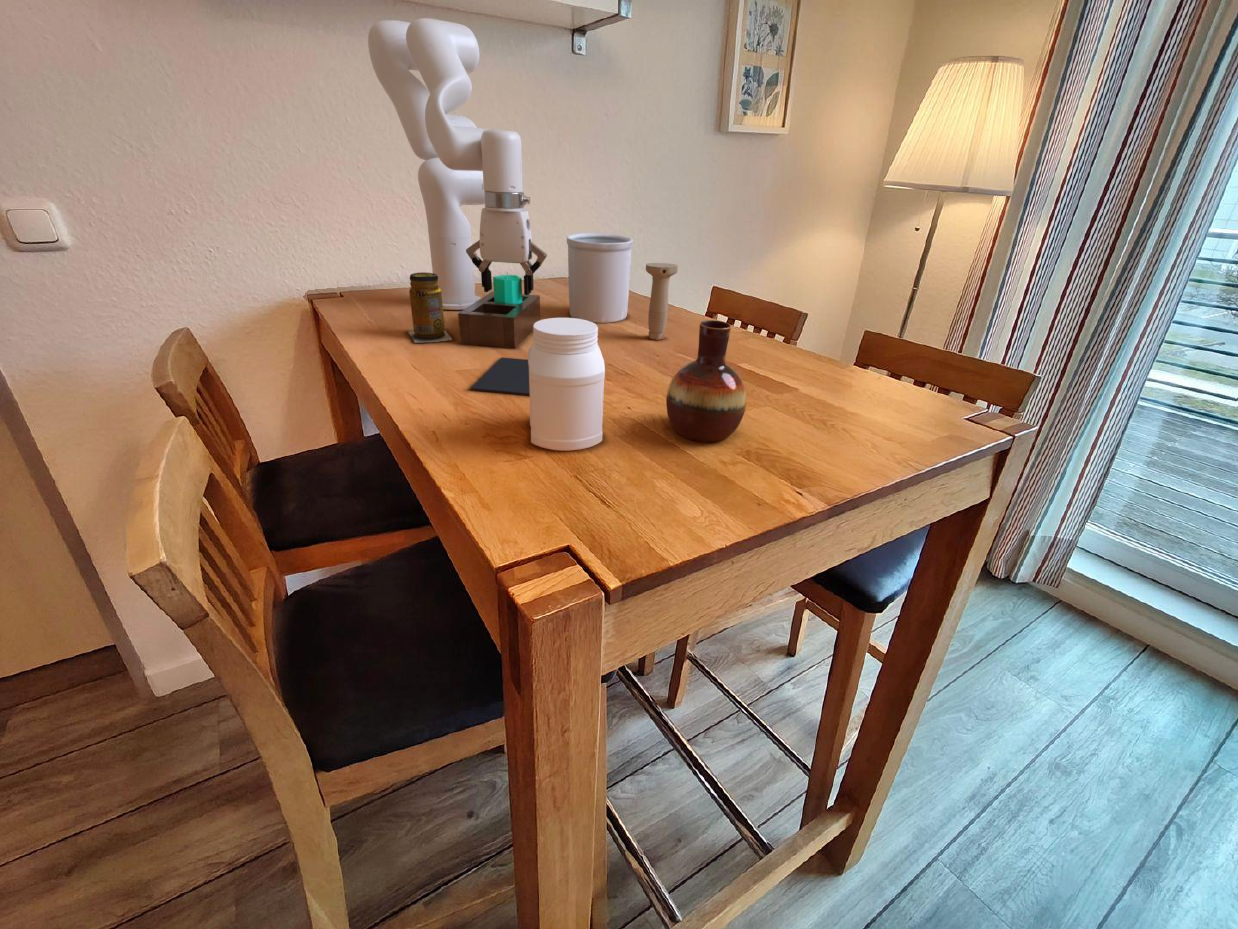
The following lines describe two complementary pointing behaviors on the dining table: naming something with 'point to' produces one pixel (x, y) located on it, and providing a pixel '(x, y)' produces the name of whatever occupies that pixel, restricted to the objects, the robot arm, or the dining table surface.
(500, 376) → the mat
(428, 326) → the condiment
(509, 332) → the holder
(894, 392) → the dining table surface
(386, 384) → the dining table surface
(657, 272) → the handle
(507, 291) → the candle
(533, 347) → the jar
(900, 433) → the dining table surface
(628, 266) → the utensil holder
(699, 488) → the dining table surface
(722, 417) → the vase
